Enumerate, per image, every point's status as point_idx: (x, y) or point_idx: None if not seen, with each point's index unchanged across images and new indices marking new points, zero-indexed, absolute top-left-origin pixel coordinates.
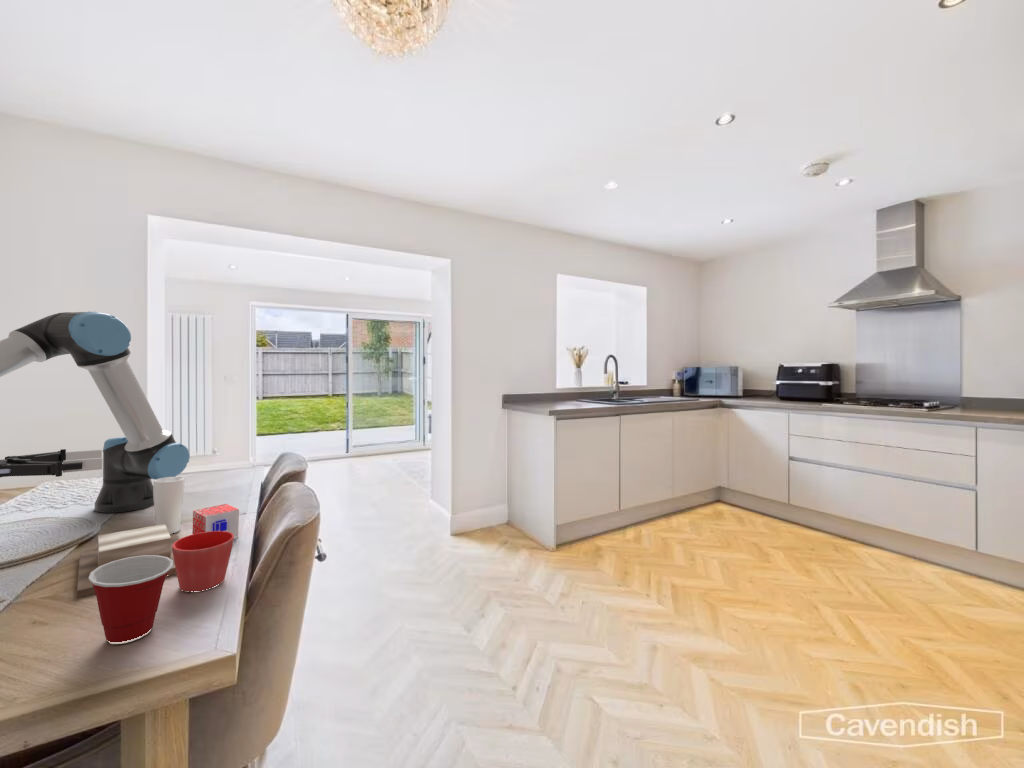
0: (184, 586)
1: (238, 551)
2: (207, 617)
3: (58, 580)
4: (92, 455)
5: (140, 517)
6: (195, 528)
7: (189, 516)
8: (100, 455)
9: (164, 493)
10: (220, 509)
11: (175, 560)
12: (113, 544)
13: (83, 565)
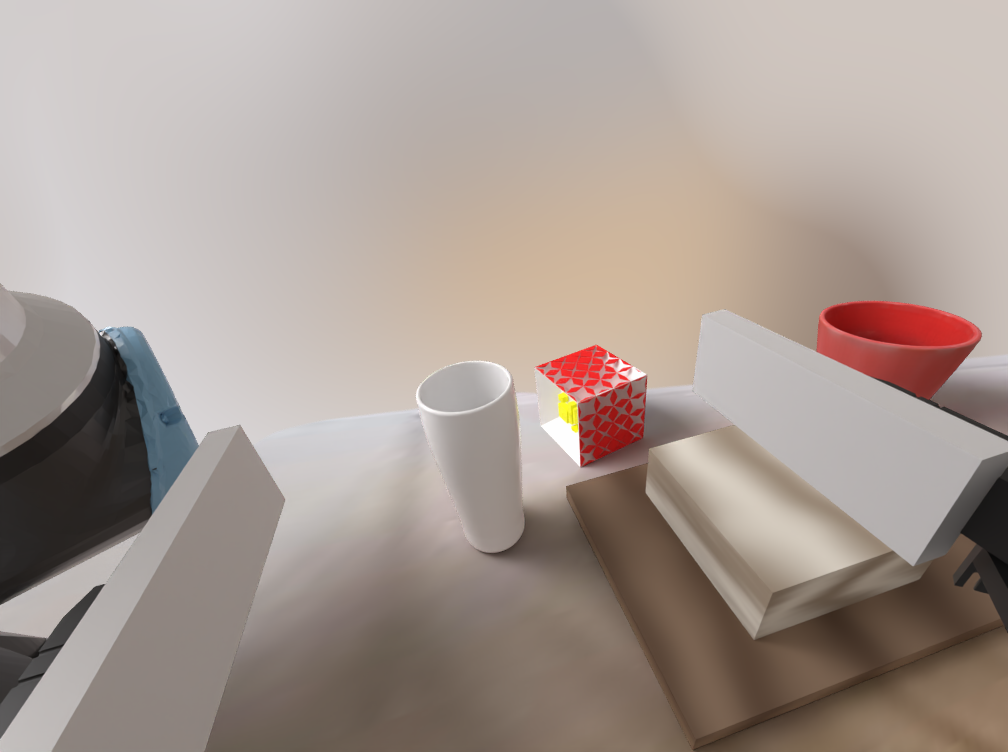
0: None
1: (684, 390)
2: (993, 379)
3: (938, 741)
4: (243, 510)
5: (236, 662)
6: (595, 434)
7: (359, 511)
8: (263, 471)
9: (518, 419)
10: (585, 366)
11: (957, 366)
12: None
13: (848, 659)
